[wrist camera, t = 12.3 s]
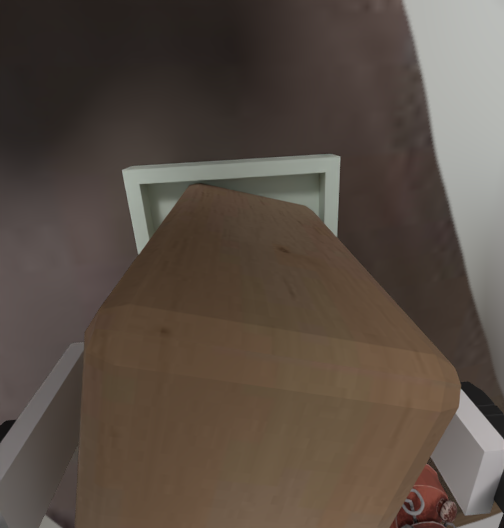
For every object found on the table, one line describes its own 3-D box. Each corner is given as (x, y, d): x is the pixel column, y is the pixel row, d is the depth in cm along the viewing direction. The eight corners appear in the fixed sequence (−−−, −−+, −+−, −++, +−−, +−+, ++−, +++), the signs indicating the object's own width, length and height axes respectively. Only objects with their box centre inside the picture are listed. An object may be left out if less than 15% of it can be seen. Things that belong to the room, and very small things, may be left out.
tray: (132, 165, 26) (121, 170, 23) (331, 153, 26) (340, 156, 24) (162, 335, 31) (157, 352, 29) (325, 323, 32) (332, 338, 29)
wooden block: (315, 205, 27) (494, 386, 8) (283, 314, 30) (359, 610, 12) (187, 177, 26) (66, 319, 7) (169, 295, 29) (59, 591, 11)
